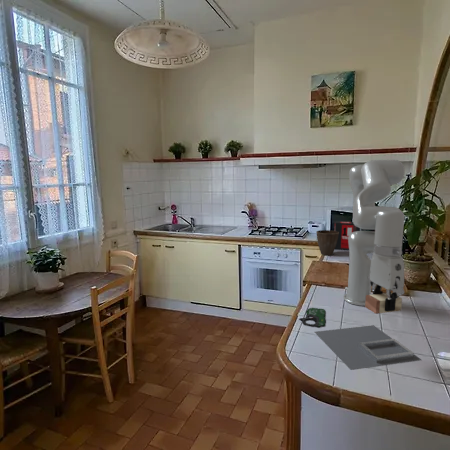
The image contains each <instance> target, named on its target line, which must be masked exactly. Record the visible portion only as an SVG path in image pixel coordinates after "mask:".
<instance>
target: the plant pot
mask: <svg viewBox="0 0 450 450" xmlns="http://www.w3.org/2000/svg"><path fill="white" fill-rule="evenodd" d="M338 235H339V232H337V231H335V230H330V229H329V230H328V229H323V230H321V229H320V230H317V231H316V240H317V245H318V249H319V252H320V254H321V255H322V256H328V257H329V256H332V255H334V254H333V253H334V252H335V250H334V249H335V247H336V243H337V240H338Z"/></svg>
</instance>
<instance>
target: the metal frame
mask: <svg viewBox="0 0 450 450" xmlns="http://www.w3.org/2000/svg"><path fill="white" fill-rule="evenodd" d="M386 345H394V346H395V347H397V348H398V349H400V350H401V351H402V352H404V353H397V354H389V355H382V356H377V355H376V354H375V353H373V352H372V351H371V350H370V349H369V348H370V347H378V346H386ZM359 348H360V349H361V350H362V351H364V352H365V353H366V354H367V355H368V356H369V357H370V358H372V359H373V360H374V361H375V362H376V363H379V362H386V361H394V360H401V359H408V358H414V355H415V352H413V351H412V350H411V349H410V348H408V347H406V346H405V345H404V344H402V343H400V342H399V341H398V340H396V339H395V338H392V339H387V340H378V341H370V342H362V343H359Z"/></svg>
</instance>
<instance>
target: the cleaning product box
mask: <svg viewBox="0 0 450 450" xmlns="http://www.w3.org/2000/svg"><path fill="white" fill-rule="evenodd" d="M334 231H337V232H339V235H338V240H337V243H336V247H335V249H334V251H335V250H336V251H338V250H339V251H349V243H348V238H349V235H350V234H351V233H352V232H355V231H360V228H359V227H356V226H355V225H354V223H353V221H343V220H342V221H339V220H337V221H334Z"/></svg>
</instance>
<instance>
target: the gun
mask: <svg viewBox="0 0 450 450" xmlns="http://www.w3.org/2000/svg"><path fill="white" fill-rule="evenodd" d="M305 312H306V315H305V317H302V318H301V317H300V318H299V319H298V320H299V321H301V322H302V324H303V326H306V327H315V328H318V329H319V328H321V327H322V328H324V327H325V326H326V324H327V319H326V309H324V308H318V307H309V308H307V310H306V311H305ZM307 321H311V322H314V323H307Z"/></svg>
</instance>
